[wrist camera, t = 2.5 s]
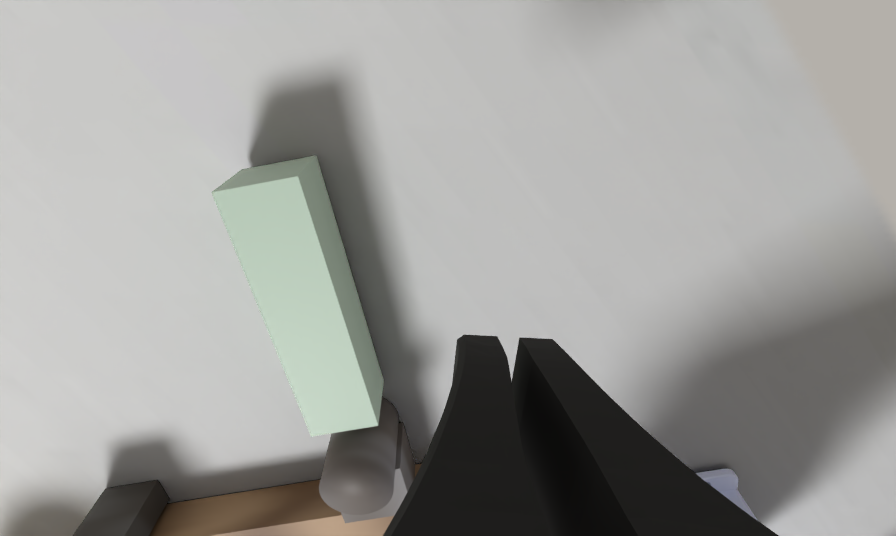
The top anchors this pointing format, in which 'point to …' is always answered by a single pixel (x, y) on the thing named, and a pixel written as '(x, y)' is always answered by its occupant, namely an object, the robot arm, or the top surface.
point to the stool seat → (280, 496)
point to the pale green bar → (304, 291)
